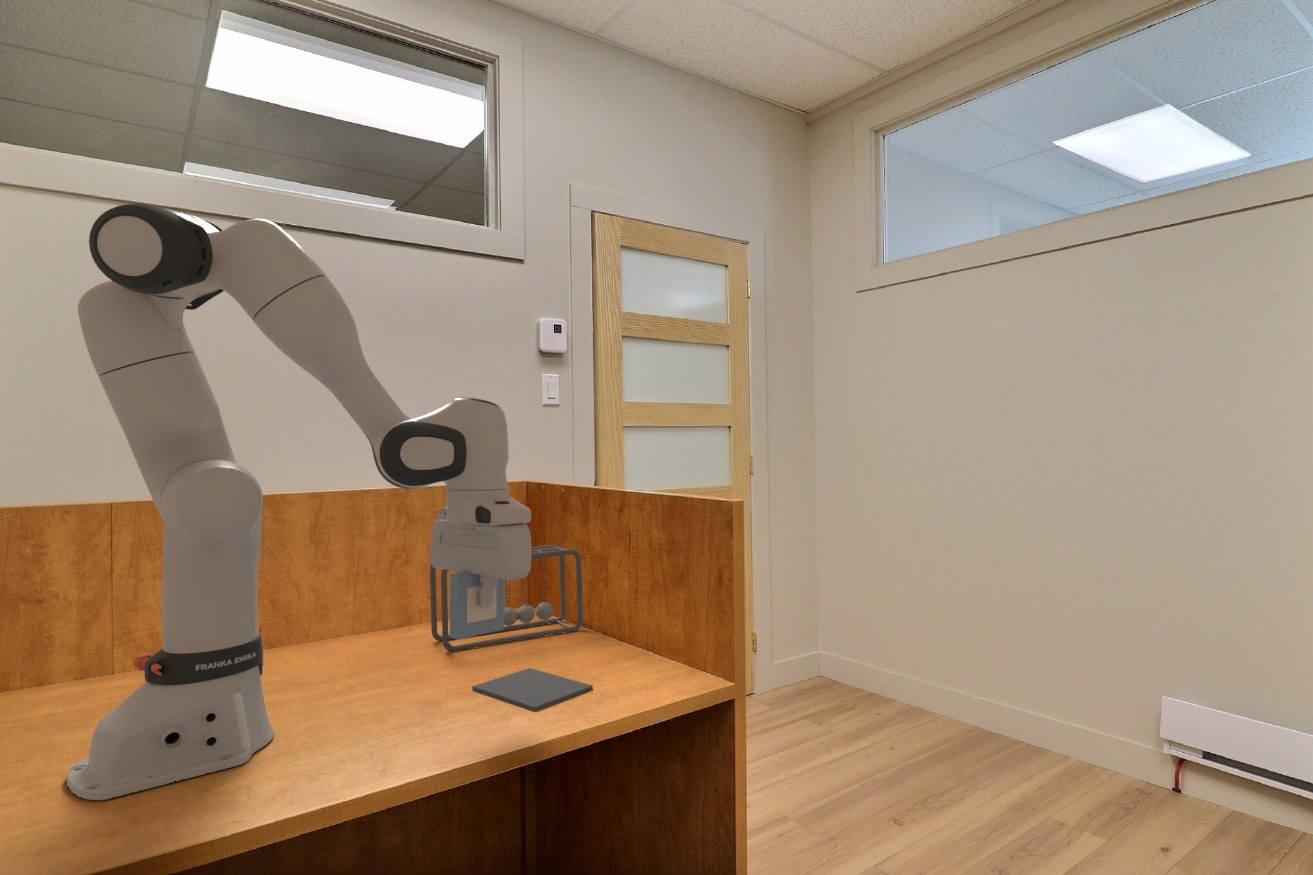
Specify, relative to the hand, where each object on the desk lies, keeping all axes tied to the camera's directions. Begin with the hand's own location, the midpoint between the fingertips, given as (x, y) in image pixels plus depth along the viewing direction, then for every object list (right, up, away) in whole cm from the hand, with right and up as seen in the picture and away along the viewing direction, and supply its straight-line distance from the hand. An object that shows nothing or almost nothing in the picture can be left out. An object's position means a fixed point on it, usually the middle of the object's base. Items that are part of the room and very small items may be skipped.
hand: (477, 604), depth 103 cm
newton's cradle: (-5, -18, +48) cm, 51 cm away
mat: (+6, -17, +13) cm, 22 cm away
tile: (0, -4, 0) cm, 4 cm away
